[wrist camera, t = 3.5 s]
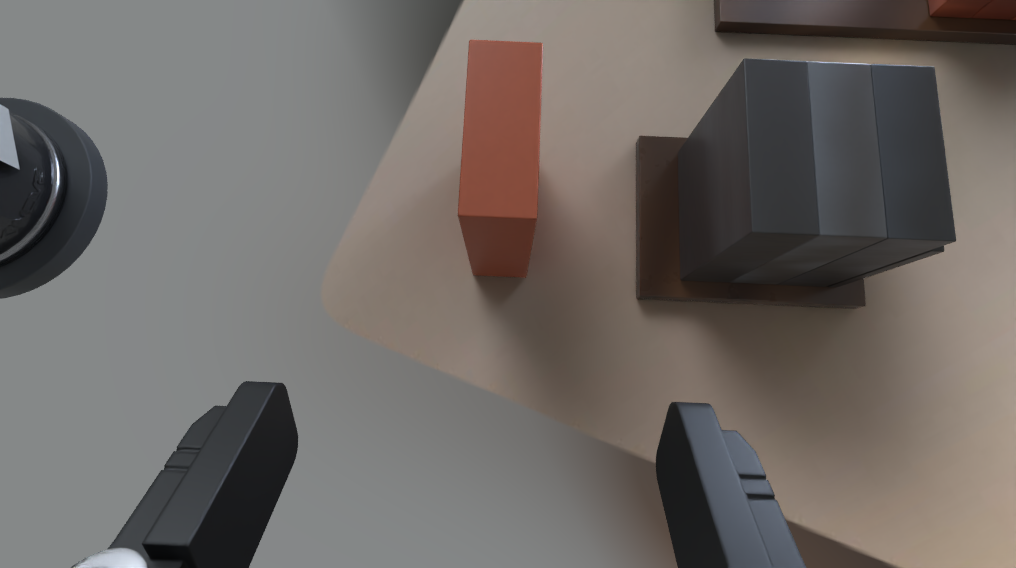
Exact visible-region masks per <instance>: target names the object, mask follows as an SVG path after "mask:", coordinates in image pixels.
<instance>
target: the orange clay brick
mask: <svg viewBox="0 0 1016 568" xmlns="http://www.w3.org/2000/svg"><path fill="white" fill-rule="evenodd" d="M542 65H543V43H533V42H511V41H488V40H470V41H469V52H468V68H467V83H466V98H465V113H464V128H463V144H462V159H461V174H460V189H459V204H458V217H459V221H460V225H461V229H462V233H463V237H464V241H465V245H466V249H467V253H468V257H469V261H470V265H471V269H472V273H473V275H478V276H500V277H523V278H526V276H527V271H528V265H529V260H530V254H531V249H532V243H533V238H534V232H535V227H536V222H537V207H538V179H539V150H540V122H541V93H542Z"/></svg>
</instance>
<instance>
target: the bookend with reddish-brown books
mask: <svg viewBox="0 0 1016 568" xmlns="http://www.w3.org/2000/svg"><path fill="white" fill-rule="evenodd" d="M714 18H715V31H719V32H742V33H765V34H788V35H811V36H834V37H857V38H880V39H903V40H926V41H949V42H972V43H995V44H1016V0H714Z"/></svg>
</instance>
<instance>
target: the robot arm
mask: <svg viewBox="0 0 1016 568" xmlns="http://www.w3.org/2000/svg"><path fill="white" fill-rule="evenodd" d="M67 186H68V173H67V167H66V163H65V159H64V157H63V154H62V152H61V150H60V148H59V147H58V145H57V144H56V142H55V141H54V140H53V139H52V138H51V137H50V135H48V134H47V133H46V132H45V131H44V130H42V129H41V128H39V127H38V126H36V125H34V124H33V123H31V122H29V121H27V120H26V119H24V118H22V117H20V116H18V115H15V114H13V113H10V112H9V110H8V109H7V108H6V107H4V106H2V105H1V104H0V267H1V266H3V265H6V264H8V263H10V262H12V261H14V260H16V259H18V258H20V257H21V256H23V255H24V254H26V253H27V252H29V251H30V250H31V249H32V248H33V247H35V246H36V245H37V244H38V243H39V242H40V241H41V240H42V239H43V238H44V237H45V236H46V234H47V233H48V232H49V231H50V229H51V228H52V227H53V225H54V224H55V222H56V220H57V219H58V216H59V214H60V212H61V210H62V208H63V205H64V202H65V198H66V193H67ZM297 448H298V433H297V428H296V424H295V421H294V417H293V413H292V409H291V405H290V401H289V397H288V393H287V389H286V387H285V385H284V384H283V383H271V382H249V381H248V382H247V381H246V382H243V383H242V384H241V385H240V386H239V387H238V389H237V391H236V392H235V394H234V395H233V397H232V399H231V400H230V402H229V404H228V405H227V406H214V407H213V408H212V409H210V410H209V411H208V412H207V413H206V414H204V415H203V416H202V417H201V418H199V419H198V420H197V421H196V422H195V423H193V424H192V425H191V427H190V428H189V430H188V431H187V433H186V434H185V436H184V437H183V439H182V440H181V442H180V443H179V445H178V446H177V451H176V452H175V451H174V452H173V454H172V455H171V457H170V458H169V459H168V461H167V463H166V464H165V468H164V470H161V472H160V473H159V475H158V476H157V478H156V479H155V480H154V482H153V483H152V485H151V486H150V488H149V489H148V491H147V492H146V494H145V495H144V497H143V499H142V500H141V501H140V503H139V504H138V506H137V507H136V509H135V510H134V512H133V513H132V515H131V516H130V518H129V519H128V521H127V522H126V524H125V525H124V527H123V528H122V530H121V531H120V533H119V534H118V536H117V537H116V539H115V540H114V542H113V543H112V544H111V545H110V547H109V548H108V549H107V550H104V551H100V552H98V553H95V554H93V555H91V556H89V557H87V558H85V559H83V560H81V561H80V562H78V563H77V564H75V565H74V566H72V567H71V568H249V565H250V563H251V561H252V559H253V556H254V554H255V552H256V549H257V547H258V545H259V542H260V540H261V538H262V535H263V533H264V531H265V528H266V526H267V524H268V522H269V519H270V517H271V514H272V512H273V510H274V507H275V505H276V503H277V501H278V498H279V496H280V494H281V491H282V489H283V487H284V485H285V482H286V480H287V478H288V475H289V473H290V471H291V468H292V466H293V464H294V461H295V458H296V454H297ZM656 473H657V480H658V485H659V489H660V494H661V498H662V502H663V506H664V511H665V515H666V519H667V523H668V527H669V532H670V535H671V540H672V544H673V549H674V553H675V557H676V561H677V565H678V568H806V567H805V564H804V562H803V560H802V557H801V555H800V553H799V550H798V548H797V546H796V543H795V541H794V539H793V536H792V534H791V532H790V529H789V527H788V525H787V523H786V520H785V518H784V516H783V513H782V511H781V509H780V506H779V504H778V502H777V500H775V498H774V496H775V495H774V493H773V490H772V488H771V486H770V483H769V481H768V480H766V474H765V472H764V470H763V467H762V465H761V463H760V460H759V458H758V456H757V454H756V452H755V450H754V449H753V448H752V447H751V446H750V445H749V444H748V443H747V442H746V441H745V440H744V438H743V437H742V436H741V435H740V434H739V433H738V432H737V431H728V430H721V427H720V425H719V422H718V420H717V417H716V414H715V412H714V410H713V408H712V406H711V405H710V404H707V403H685V402H672V403H671V404H670V406H669V409H668V412H667V416H666V420H665V423H664V427H663V431H662V434H661V438H660V442H659V445H658V449H657V455H656Z"/></svg>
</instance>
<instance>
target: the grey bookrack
mask: <svg viewBox="0 0 1016 568" xmlns="http://www.w3.org/2000/svg"><path fill="white" fill-rule="evenodd" d="M955 241H956V235H955V227H954V219H953V211H952V203H951V195H950V187H949V179H948V171H947V163H946V156H945V148H944V140H943V132H942V124H941V116H940V108H939V100H938V92H937V84H936V76H935V68H934V67H932V66H909V65H886V64H871V65H870V64H857V63H834V62H811V61H809V62H806V61H790V60H767V59H743V61H742V62H741V63H740V65H739V66H738V68H737V69H736V71H735V72H734V73H733V75H732V76H731V78H730V79H729V80H728V82H727V83H726V85H725V86H724V88H723V89H722V90H721V92H720V93H719V95H718V96H717V97H716V99H715V100H714V102H713V103H712V105H711V106H710V107H709V109H708V110H707V112H706V113H705V114H704V116H703V117H702V119H701V120H700V122H699V123H698V124H697V126H696V127H695V129H694V130H693V132H692V133H691V134H690V136H689V137H688V138H678V137H656V136H639V138H638V140H637V142H636V298H637V299H653V300H675V301H697V302H720V303H742V304H764V305H787V306H809V307H832V308H854V309H855V308H859V307H863V306H865V305H866V303H865V292H864V280H863V278H866V277H869V276H872V275H875V274H878V273H881V272H884V271H887V270H890V269H893V268H896V267H899V266H902V265H905V264H908V263H911V262H914V261H917V260H920V259H923V258H926V257H929V256H932V255H935V254H938V253H941V252H944V245H947V244H950V243H952V242H955Z"/></svg>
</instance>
